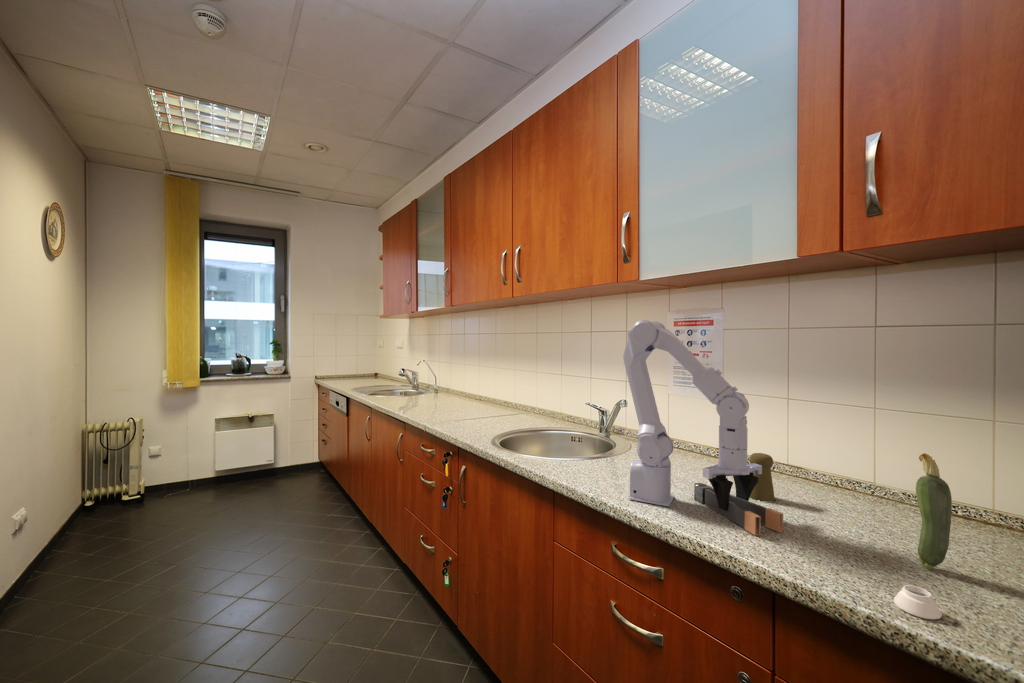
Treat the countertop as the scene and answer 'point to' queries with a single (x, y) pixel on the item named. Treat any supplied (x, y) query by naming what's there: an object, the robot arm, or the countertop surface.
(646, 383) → the robot arm
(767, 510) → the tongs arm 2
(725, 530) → the countertop surface
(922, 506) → the vegetable
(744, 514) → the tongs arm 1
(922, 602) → the upside-down white bowl
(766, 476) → the cork
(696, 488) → the tongs hub
